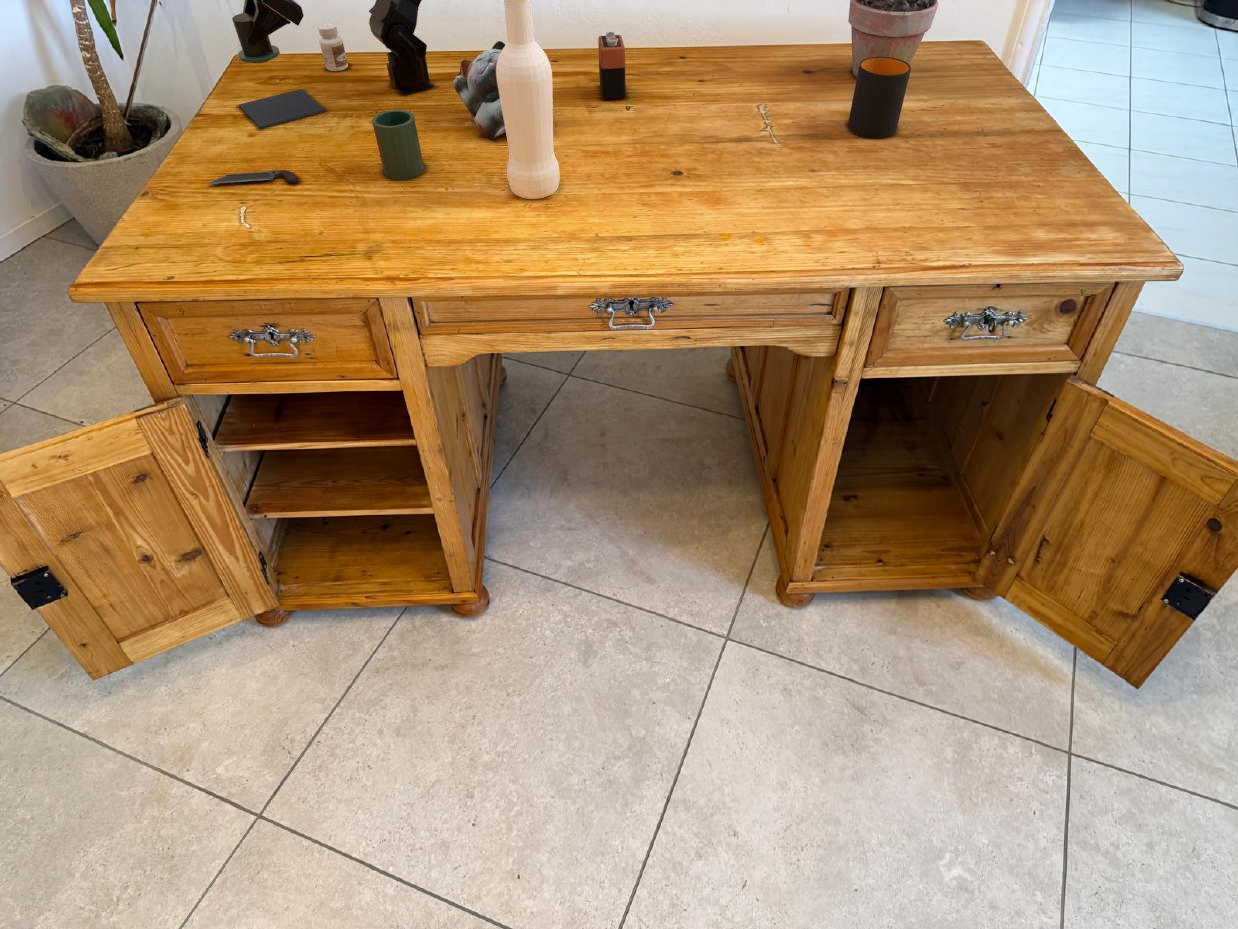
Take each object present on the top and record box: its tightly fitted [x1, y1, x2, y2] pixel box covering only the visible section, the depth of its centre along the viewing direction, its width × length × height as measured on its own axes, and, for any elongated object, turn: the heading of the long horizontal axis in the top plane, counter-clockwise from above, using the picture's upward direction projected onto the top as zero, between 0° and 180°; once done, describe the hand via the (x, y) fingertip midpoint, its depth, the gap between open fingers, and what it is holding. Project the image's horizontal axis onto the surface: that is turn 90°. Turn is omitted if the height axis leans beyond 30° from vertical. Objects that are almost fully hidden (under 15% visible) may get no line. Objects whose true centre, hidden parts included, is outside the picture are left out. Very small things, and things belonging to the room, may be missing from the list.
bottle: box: [496, 0, 561, 200], centre depth 116 cm, size 8×8×30 cm
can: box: [371, 109, 425, 181], centre depth 129 cm, size 6×6×8 cm
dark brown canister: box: [231, 12, 281, 64], centre depth 137 cm, size 7×7×7 cm
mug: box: [847, 57, 912, 140], centre depth 138 cm, size 8×12×10 cm
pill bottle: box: [317, 22, 349, 72], centre depth 160 cm, size 4×4×8 cm
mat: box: [238, 88, 325, 130], centre depth 149 cm, size 12×12×1 cm
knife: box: [208, 169, 299, 185], centre depth 129 cm, size 14×4×1 cm, turn 97°
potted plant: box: [847, 0, 939, 78], centre depth 148 cm, size 18×20×25 cm
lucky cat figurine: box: [451, 40, 506, 140], centre depth 139 cm, size 15×12×14 cm
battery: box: [597, 31, 627, 101], centre depth 148 cm, size 4×7×10 cm, turn 6°
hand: (245, 38), depth 136 cm, fingers closed on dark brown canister, 5 cm apart
